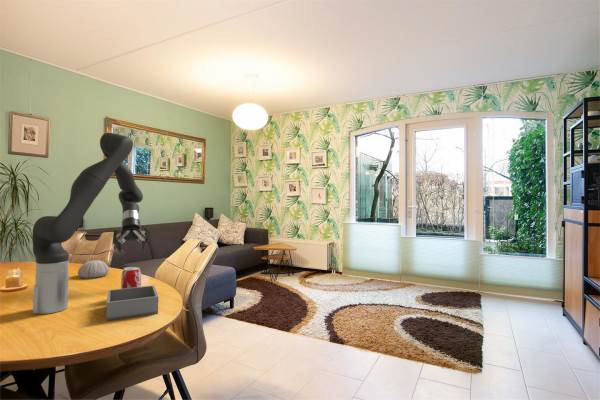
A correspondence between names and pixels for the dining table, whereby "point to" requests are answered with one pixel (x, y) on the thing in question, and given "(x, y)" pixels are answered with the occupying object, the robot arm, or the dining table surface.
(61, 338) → the dining table surface
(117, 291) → the bin
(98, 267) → the sea urchin shell
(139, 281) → the soda can
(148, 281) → the dining table surface
